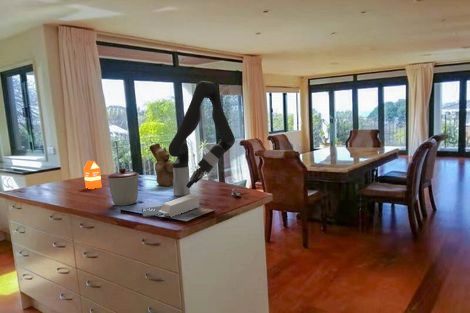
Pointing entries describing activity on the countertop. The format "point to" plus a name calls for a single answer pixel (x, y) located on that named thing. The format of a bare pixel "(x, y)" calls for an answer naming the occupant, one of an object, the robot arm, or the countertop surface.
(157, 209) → the mat
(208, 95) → the robot arm
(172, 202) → the milk
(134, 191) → the canister
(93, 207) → the countertop surface
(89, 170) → the orange juice
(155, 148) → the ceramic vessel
